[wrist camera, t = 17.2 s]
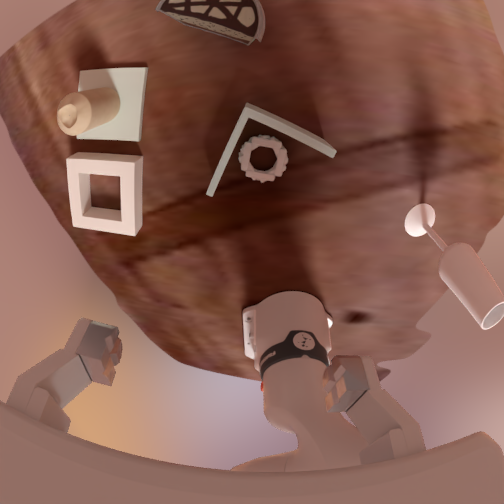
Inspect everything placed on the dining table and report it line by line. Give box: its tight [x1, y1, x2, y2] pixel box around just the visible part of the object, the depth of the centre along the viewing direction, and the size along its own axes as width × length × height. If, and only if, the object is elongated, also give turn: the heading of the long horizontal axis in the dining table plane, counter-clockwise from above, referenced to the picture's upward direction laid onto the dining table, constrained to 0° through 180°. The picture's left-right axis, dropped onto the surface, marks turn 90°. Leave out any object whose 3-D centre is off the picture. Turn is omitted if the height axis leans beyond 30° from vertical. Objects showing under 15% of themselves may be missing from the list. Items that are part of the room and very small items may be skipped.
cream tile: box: [77, 67, 148, 141], centre depth 34 cm, size 11×11×1 cm
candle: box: [57, 87, 120, 136], centre depth 29 cm, size 6×6×10 cm
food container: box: [155, 0, 265, 45], centre depth 24 cm, size 12×6×10 cm, turn 66°
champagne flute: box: [405, 203, 504, 330], centre depth 35 cm, size 7×7×24 cm
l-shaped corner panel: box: [206, 103, 337, 197], centre depth 37 cm, size 12×12×8 cm
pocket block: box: [67, 152, 143, 236], centre depth 40 cm, size 12×12×4 cm
